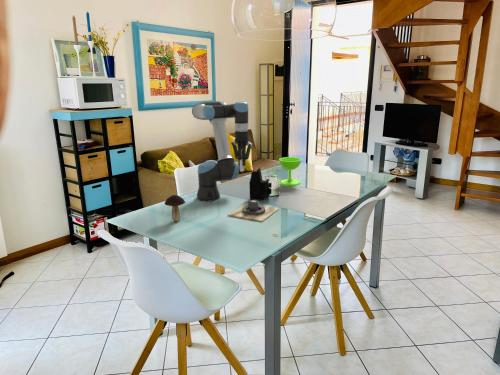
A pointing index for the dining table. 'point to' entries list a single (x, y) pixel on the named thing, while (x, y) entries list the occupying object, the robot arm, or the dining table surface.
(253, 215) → the mount
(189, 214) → the dining table surface
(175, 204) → the decorative mushroom
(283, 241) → the dining table surface
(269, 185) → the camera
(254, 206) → the cap
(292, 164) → the wineglass
